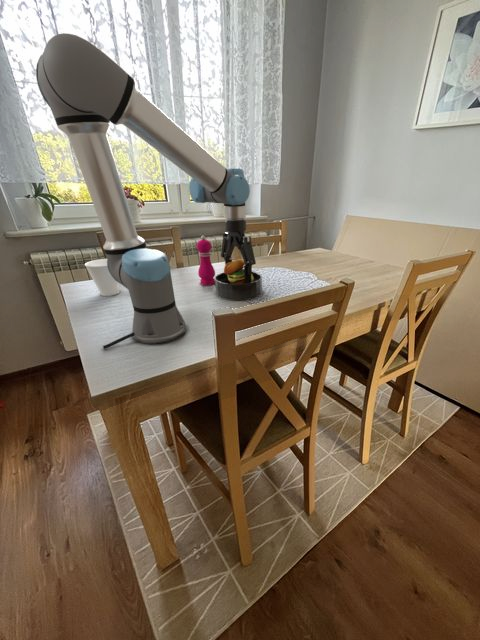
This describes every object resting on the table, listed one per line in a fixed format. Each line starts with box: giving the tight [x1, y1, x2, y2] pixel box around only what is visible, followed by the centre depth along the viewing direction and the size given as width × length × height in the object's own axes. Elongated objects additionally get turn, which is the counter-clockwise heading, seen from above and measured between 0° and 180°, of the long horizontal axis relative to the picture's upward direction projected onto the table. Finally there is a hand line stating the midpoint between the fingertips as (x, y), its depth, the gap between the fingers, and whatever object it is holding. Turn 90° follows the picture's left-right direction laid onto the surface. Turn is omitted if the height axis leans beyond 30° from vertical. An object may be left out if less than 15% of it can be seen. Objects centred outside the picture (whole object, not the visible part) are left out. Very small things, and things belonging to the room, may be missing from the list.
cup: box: [84, 258, 120, 297], centre depth 116 cm, size 12×12×12 cm
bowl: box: [214, 271, 263, 301], centre depth 117 cm, size 19×19×6 cm
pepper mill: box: [196, 235, 216, 286], centre depth 124 cm, size 7×7×20 cm
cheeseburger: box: [223, 258, 254, 284], centre depth 114 cm, size 10×11×10 cm
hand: (238, 279), depth 116 cm, fingers closed on cheeseburger, 11 cm apart
